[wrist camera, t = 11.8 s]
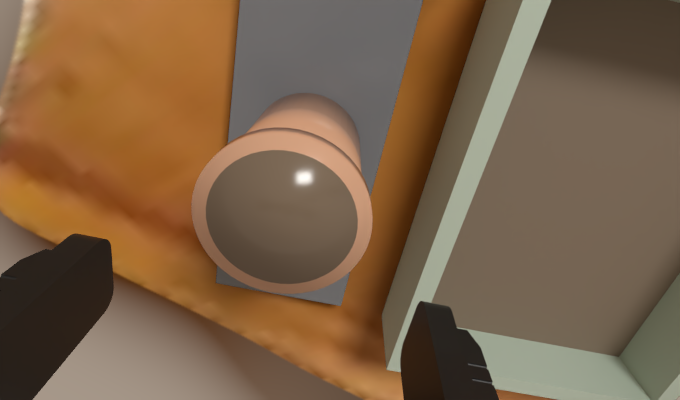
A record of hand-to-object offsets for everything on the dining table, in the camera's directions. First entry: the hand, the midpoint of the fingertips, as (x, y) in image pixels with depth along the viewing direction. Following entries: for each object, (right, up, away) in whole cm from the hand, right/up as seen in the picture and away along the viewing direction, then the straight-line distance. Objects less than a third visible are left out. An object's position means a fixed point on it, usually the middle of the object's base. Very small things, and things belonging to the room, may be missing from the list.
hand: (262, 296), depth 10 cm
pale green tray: (+15, +3, +12) cm, 20 cm away
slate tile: (0, +6, +11) cm, 13 cm away
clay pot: (0, +5, +10) cm, 12 cm away
